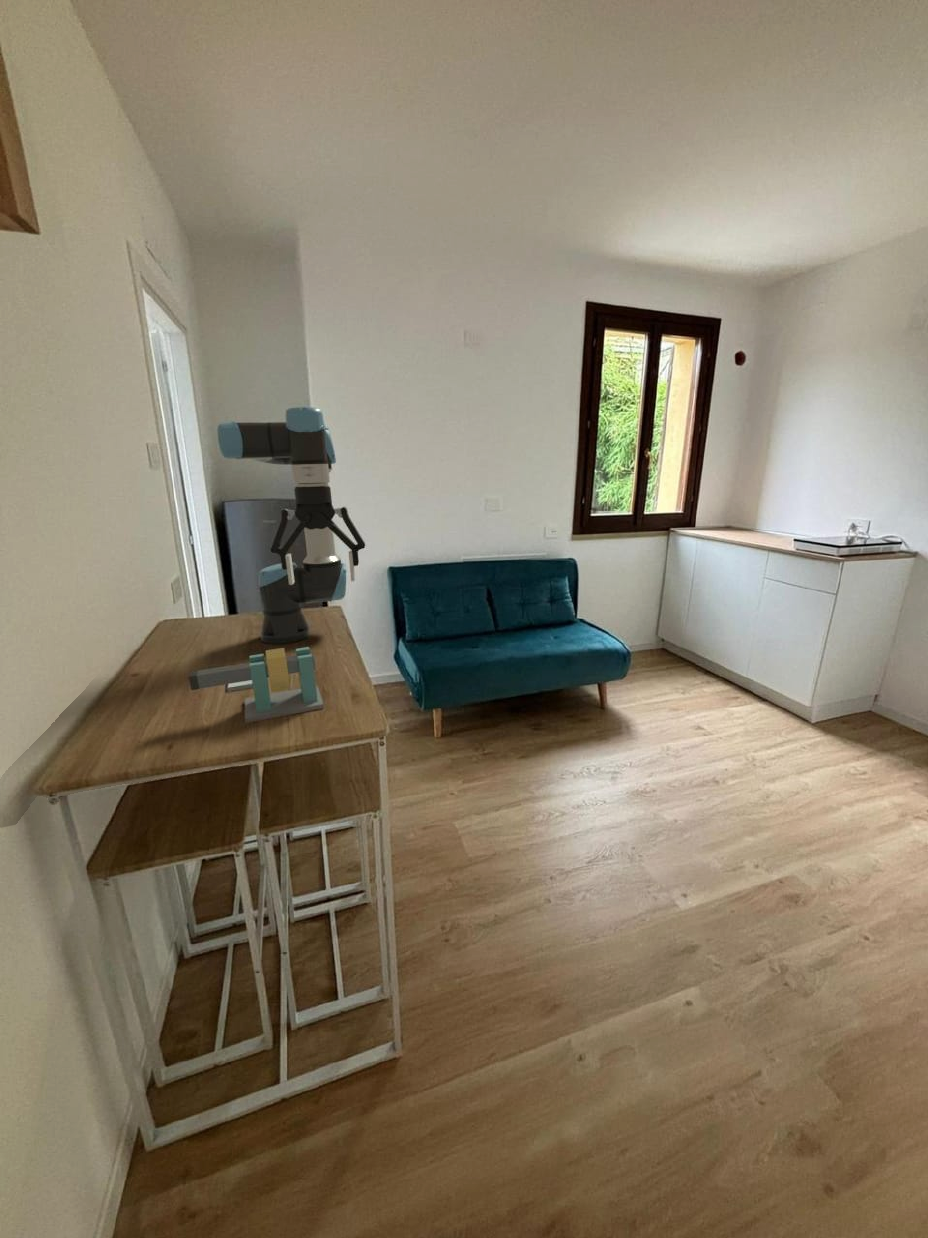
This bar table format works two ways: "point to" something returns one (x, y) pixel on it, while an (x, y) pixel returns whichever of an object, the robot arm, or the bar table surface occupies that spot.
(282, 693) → the block
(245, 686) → the hard drive
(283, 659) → the block
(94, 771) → the bar table surface
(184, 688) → the bar table surface
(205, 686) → the shaft
